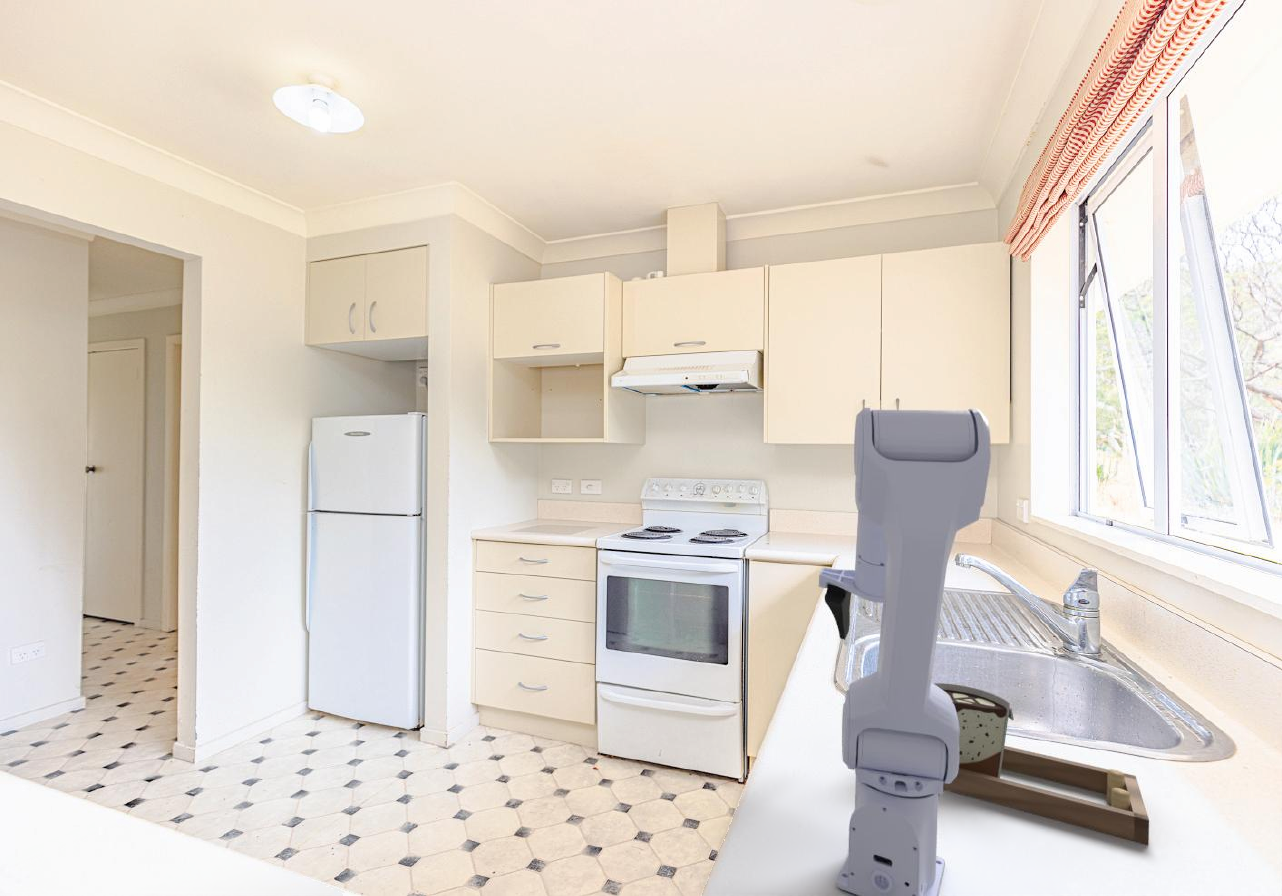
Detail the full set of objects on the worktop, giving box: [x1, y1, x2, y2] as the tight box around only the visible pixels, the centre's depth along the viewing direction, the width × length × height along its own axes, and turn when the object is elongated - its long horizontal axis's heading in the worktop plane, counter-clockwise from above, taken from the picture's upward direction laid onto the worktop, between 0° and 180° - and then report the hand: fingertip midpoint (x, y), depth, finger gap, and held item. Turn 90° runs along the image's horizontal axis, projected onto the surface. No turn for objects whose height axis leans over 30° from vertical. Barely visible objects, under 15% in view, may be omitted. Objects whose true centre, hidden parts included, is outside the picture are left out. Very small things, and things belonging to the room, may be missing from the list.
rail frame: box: [943, 745, 1150, 846], centre depth 76 cm, size 11×20×4 cm, turn 58°
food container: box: [932, 682, 1015, 778], centre depth 81 cm, size 12×6×10 cm, turn 84°
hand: (873, 643), depth 86 cm, fingers open, 7 cm apart
